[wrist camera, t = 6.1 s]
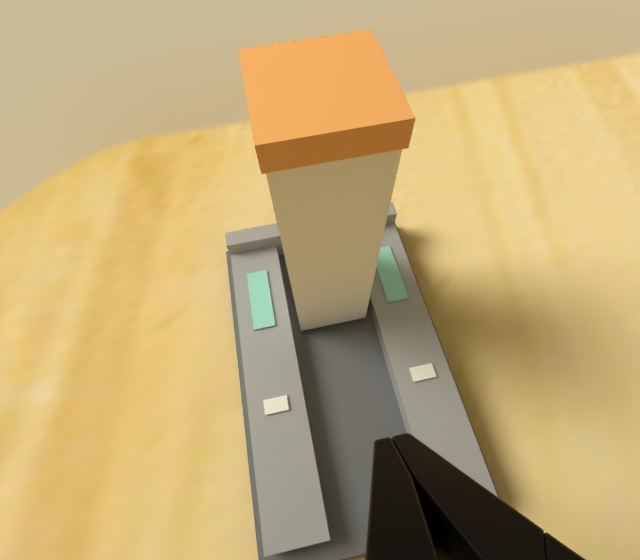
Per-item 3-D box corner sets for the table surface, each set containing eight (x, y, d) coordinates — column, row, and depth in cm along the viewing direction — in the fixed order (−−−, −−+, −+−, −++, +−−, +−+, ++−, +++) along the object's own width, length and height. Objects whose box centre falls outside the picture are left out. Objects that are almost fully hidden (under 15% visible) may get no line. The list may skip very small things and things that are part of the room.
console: (500, 515, 15) (528, 523, 12) (263, 575, 14) (251, 594, 12) (392, 226, 21) (398, 198, 19) (228, 257, 21) (217, 232, 19)
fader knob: (367, 319, 18) (415, 117, 8) (299, 333, 18) (255, 145, 7) (350, 260, 19) (371, 29, 9) (287, 272, 19) (237, 49, 9)
